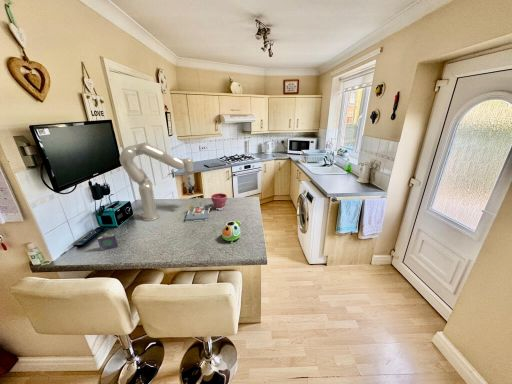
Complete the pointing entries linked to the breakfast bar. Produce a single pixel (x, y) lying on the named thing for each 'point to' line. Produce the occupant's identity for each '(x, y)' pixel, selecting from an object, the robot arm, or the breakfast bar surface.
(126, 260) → the breakfast bar surface
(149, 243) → the breakfast bar surface
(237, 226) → the turtle holder
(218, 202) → the plant pot
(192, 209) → the slider brass
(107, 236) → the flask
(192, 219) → the panel
